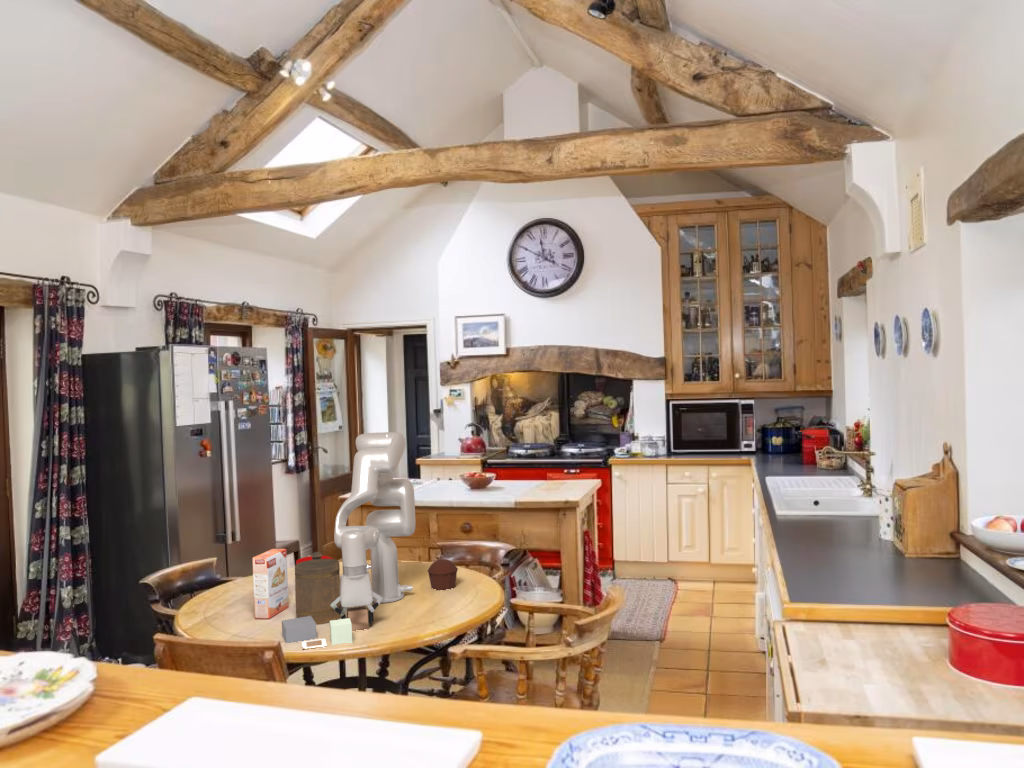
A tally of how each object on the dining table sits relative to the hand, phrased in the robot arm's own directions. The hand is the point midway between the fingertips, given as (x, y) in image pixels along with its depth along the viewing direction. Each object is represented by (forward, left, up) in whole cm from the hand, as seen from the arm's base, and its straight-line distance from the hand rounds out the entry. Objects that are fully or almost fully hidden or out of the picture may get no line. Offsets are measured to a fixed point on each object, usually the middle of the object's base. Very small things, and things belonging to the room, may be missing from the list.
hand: (357, 625), depth 250 cm
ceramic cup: (+9, -63, -1) cm, 64 cm away
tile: (+14, +10, -1) cm, 18 cm away
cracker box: (+26, -30, -1) cm, 40 cm away
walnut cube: (0, 0, -1) cm, 1 cm away
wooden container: (+11, -17, -1) cm, 20 cm away
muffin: (-35, -35, -1) cm, 50 cm away
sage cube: (+6, +11, -1) cm, 13 cm away
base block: (+18, +1, -1) cm, 18 cm away
